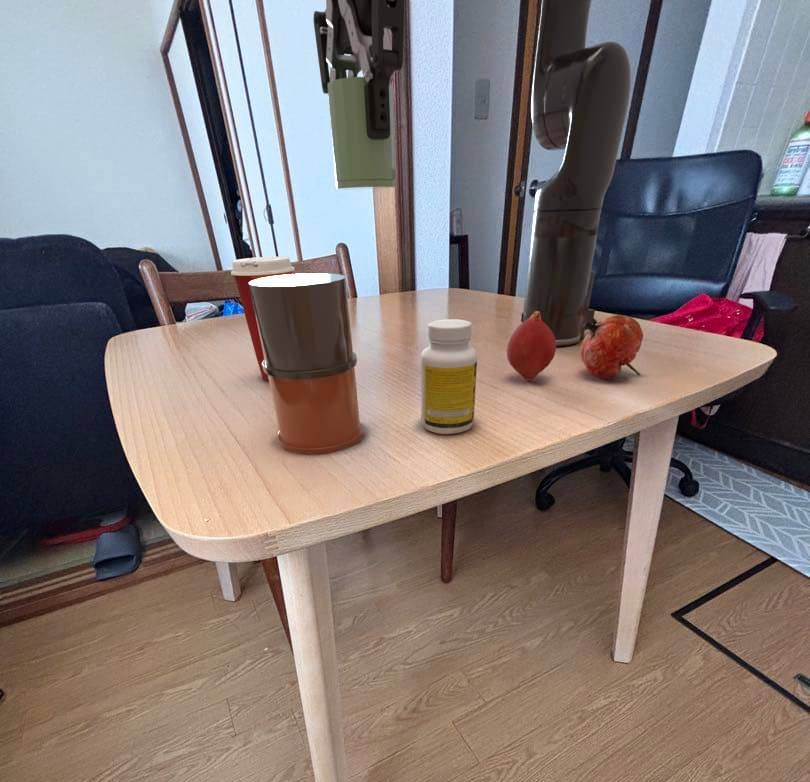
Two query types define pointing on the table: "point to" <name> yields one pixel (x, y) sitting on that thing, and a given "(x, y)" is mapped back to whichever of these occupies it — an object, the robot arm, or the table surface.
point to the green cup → (358, 139)
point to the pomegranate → (611, 345)
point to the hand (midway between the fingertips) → (362, 142)
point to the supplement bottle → (448, 378)
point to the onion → (531, 347)
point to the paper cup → (244, 275)
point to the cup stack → (309, 360)
